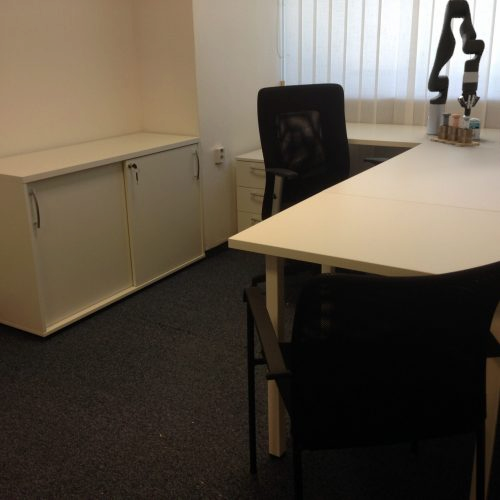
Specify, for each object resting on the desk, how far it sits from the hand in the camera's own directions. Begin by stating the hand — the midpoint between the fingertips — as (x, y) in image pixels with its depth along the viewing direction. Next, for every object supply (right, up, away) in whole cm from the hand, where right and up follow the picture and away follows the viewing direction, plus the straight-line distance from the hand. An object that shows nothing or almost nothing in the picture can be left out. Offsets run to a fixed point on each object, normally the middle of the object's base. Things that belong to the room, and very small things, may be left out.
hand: (467, 115), depth 302 cm
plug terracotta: (-3, -6, +10) cm, 12 cm away
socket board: (-2, -12, +12) cm, 17 cm away
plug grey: (0, -9, +3) cm, 9 cm away
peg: (-6, -4, +17) cm, 18 cm away
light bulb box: (+11, -7, +24) cm, 27 cm away
